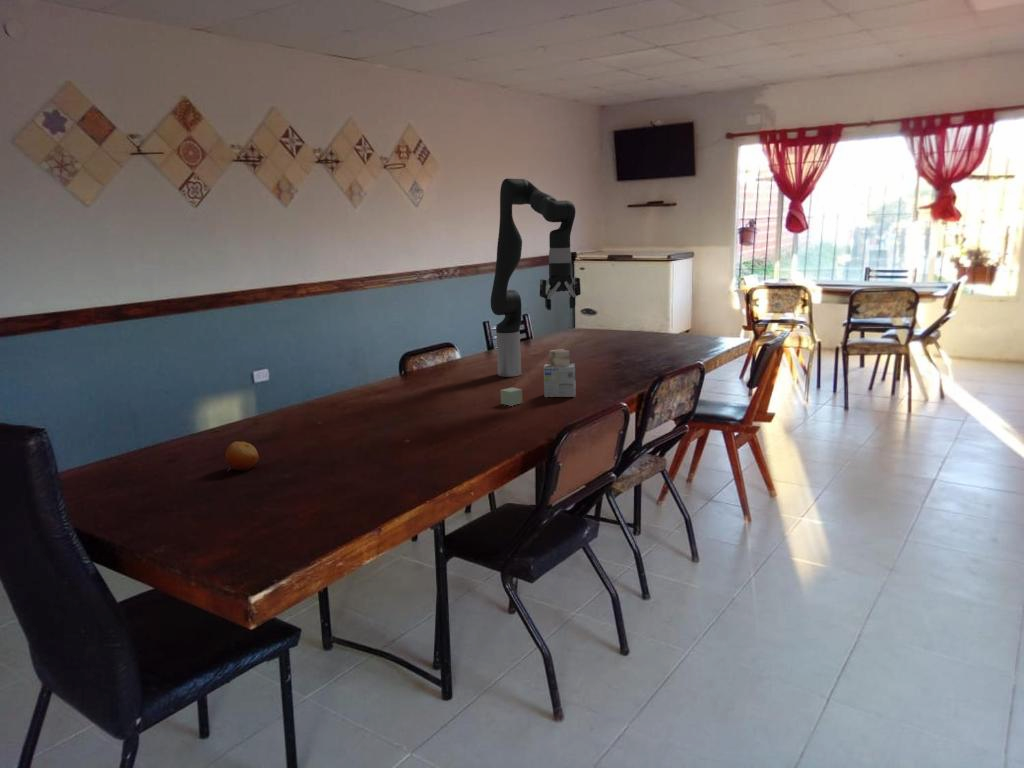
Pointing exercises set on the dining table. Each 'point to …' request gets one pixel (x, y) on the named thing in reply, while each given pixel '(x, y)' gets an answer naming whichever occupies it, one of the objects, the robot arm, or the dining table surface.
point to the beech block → (559, 358)
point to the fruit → (241, 456)
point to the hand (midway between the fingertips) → (560, 309)
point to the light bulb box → (559, 381)
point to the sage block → (511, 396)
